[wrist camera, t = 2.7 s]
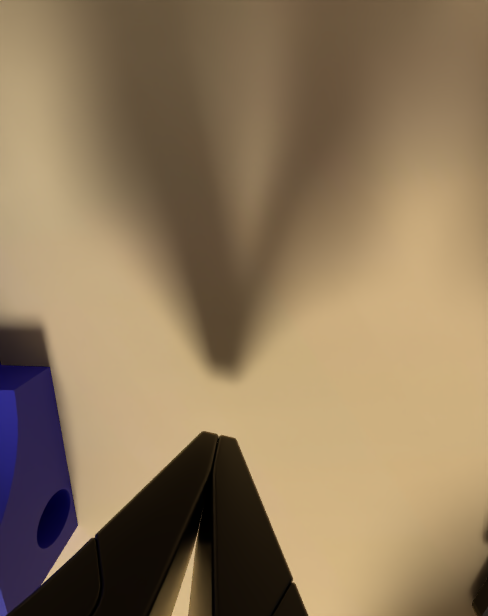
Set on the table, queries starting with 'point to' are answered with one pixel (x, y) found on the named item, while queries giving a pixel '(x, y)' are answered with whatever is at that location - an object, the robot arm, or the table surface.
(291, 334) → the table surface
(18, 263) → the table surface
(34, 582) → the cable clip
